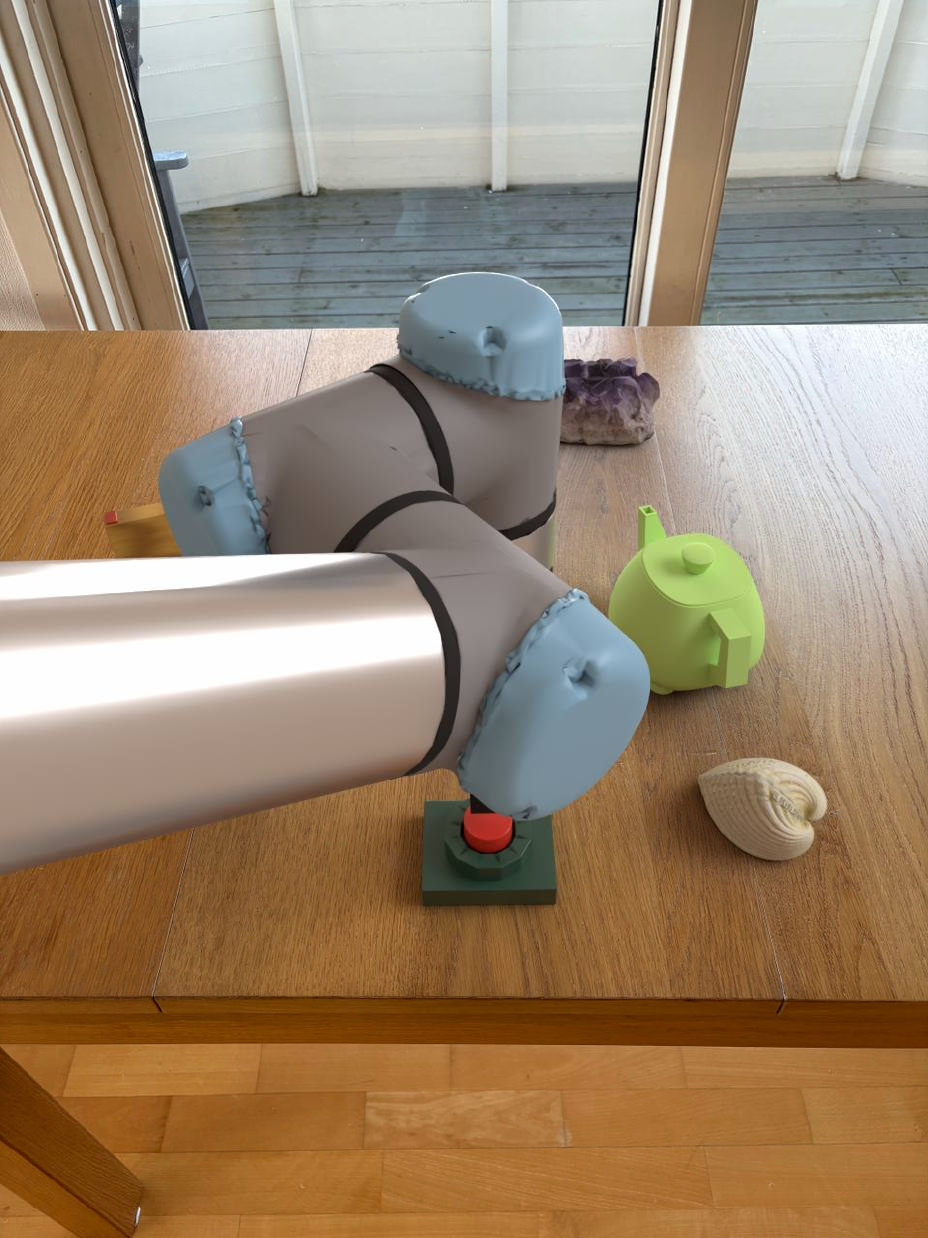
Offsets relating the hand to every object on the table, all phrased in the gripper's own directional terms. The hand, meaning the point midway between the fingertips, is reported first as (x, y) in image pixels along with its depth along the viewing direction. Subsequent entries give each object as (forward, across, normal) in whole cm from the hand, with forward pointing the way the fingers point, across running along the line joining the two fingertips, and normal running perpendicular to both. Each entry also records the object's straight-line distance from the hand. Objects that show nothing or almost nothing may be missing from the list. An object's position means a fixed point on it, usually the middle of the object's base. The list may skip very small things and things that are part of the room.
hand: (488, 804), depth 69 cm
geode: (+8, -60, +11) cm, 62 cm away
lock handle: (+4, -29, -32) cm, 43 cm away
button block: (+7, 0, 0) cm, 7 cm away
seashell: (+8, -4, +22) cm, 24 cm away
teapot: (+8, -22, +18) cm, 29 cm away
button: (+4, 0, 0) cm, 4 cm away
